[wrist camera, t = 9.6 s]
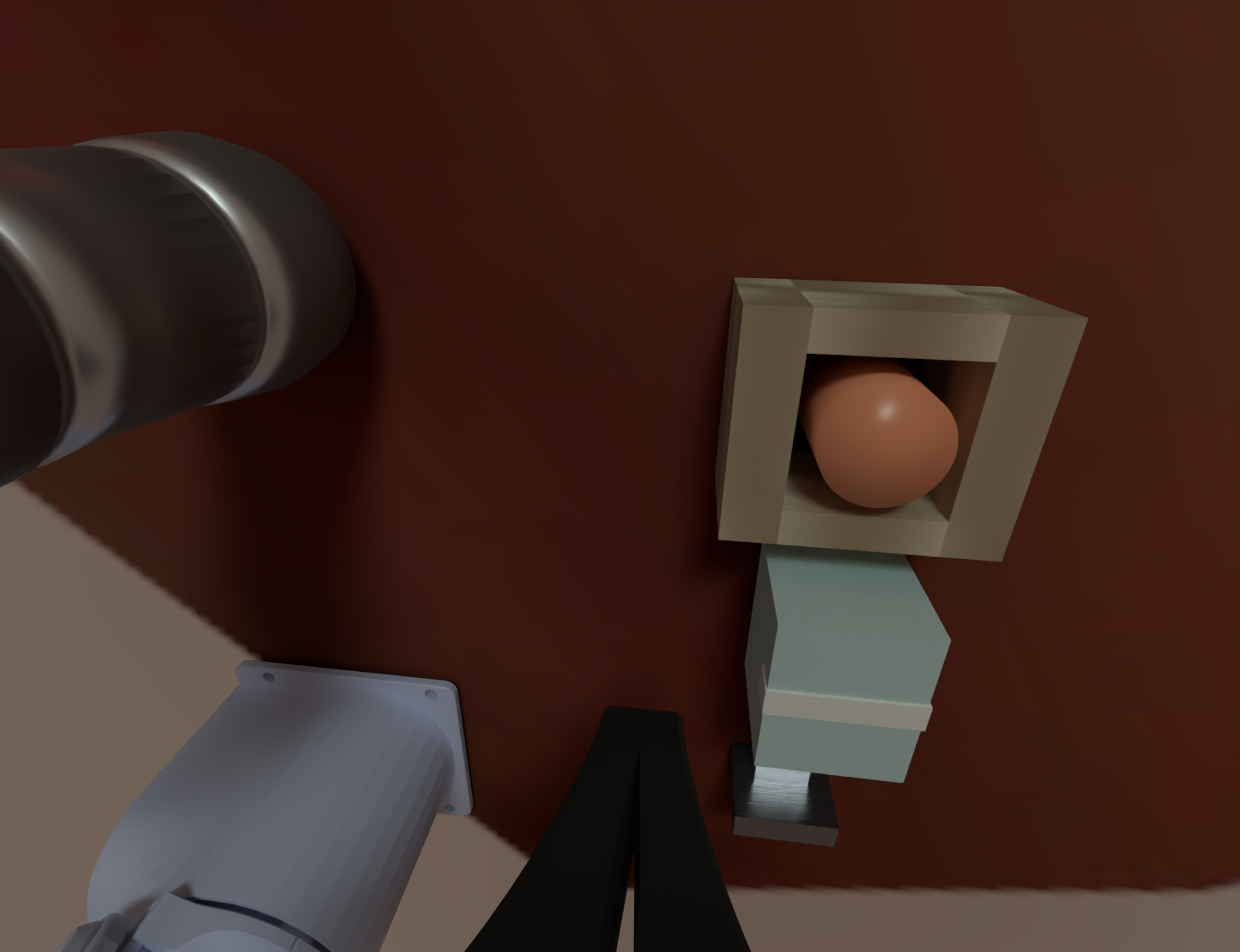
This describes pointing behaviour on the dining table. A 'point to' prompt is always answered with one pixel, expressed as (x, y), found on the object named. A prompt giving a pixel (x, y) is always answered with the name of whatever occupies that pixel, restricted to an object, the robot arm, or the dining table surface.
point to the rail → (780, 801)
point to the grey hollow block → (952, 370)
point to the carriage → (840, 661)
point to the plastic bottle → (155, 286)
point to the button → (875, 429)
